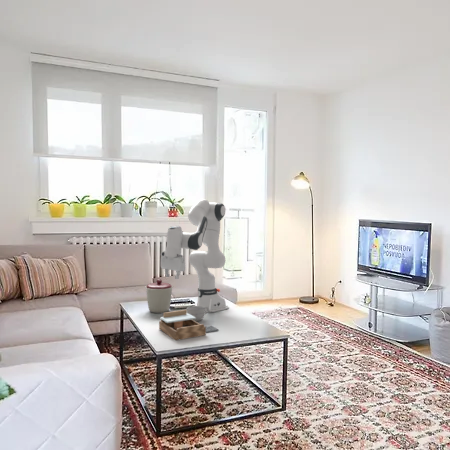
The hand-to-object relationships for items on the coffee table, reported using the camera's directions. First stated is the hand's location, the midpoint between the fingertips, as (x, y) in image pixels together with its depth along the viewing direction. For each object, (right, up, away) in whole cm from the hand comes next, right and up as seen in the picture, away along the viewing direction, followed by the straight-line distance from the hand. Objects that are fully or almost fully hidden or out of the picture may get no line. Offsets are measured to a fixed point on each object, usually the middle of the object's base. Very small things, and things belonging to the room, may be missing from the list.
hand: (171, 277), depth 255 cm
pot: (+4, -29, -5) cm, 30 cm away
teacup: (+14, -28, +15) cm, 35 cm away
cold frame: (+7, -29, -9) cm, 31 cm away
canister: (-13, -26, +34) cm, 45 cm away
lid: (+4, -23, -5) cm, 24 cm away
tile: (+22, -29, -4) cm, 36 cm away
